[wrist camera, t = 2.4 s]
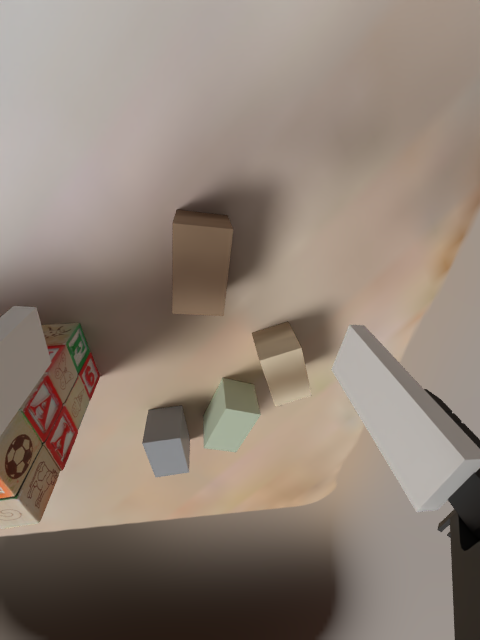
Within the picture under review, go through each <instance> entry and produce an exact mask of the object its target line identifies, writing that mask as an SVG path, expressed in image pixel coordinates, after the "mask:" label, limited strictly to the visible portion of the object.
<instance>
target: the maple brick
mask: <svg viewBox="0 0 480 640" xmlns="http://www.w3.org/2000/svg"><path fill="white" fill-rule="evenodd" d="M252 336H253V339H254V343H255V346H256V350H257V353H258V357H259V360H260V363H261V366H262V369H263V372H264V375H265V378H266V381H267V384H268V387H269V390H270V393H271V396H272V399H273V402H274V405H275V407H276V406H279V405H283V404H286V403H289V402H293V401H296V400H299V399H303V398H306V397H309V396H312V394H311V390H310V385H309V380H308V376H307V371H306V366H305V362H304V357H303V352H302V348H301V346H300V344H299V342H298V340H297V338H296V336H295V334H294V332H293V330H292V328H291V326H290V324H289V322H285V323H282V324H279V325H275V326H272V327H269V328H266V329H263V330H260V331H256V332H253V333H252Z"/></svg>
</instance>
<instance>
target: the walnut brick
mask: <svg viewBox="0 0 480 640" xmlns="http://www.w3.org/2000/svg"><path fill="white" fill-rule="evenodd" d="M232 237H233V227H232V225H231V223H230V220H229V218H228V216H227V215H220V214H211V213H202V212H193V211H184V210H177V211H176V214H175V217H174V220H173V269H172V314H191V315H214V316H223V315H224V306H225V298H226V289H227V280H228V272H229V263H230V254H231V246H232Z"/></svg>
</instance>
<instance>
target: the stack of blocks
mask: <svg viewBox="0 0 480 640" xmlns="http://www.w3.org/2000/svg"><path fill="white" fill-rule="evenodd" d="M41 326H42V330H43V333H44V337H45V341H46V345H47V348H48V352H49V356H50V359H51V364H50V366H49V367H48V368H47V370H46V371H45V373H44V374H43V376H42V377H41V379H40V380H39V381H38V383H37V384H36V386H35V387H34V389H33V390H32V391H31V393H30V394H29V396H28V397H27V399H26V400H25V401H24V403H23V404H22V406H21V407H20V409H19V410H18V412H17V413H16V414H15V416H14V417H13V419H12V420H11V422H10V423H9V424H8V426H7V427H6V429H5V430H4V432H3V433H2V435H1V436H0V529H6V528H13V527H20V526H27V525H34V524H37V523H39V522H40V520H41V518H42V516H43V513H44V511H45V508H46V506H47V503H48V501H49V499H50V496H51V494H52V491H53V489H54V486H55V484H56V481H57V478H58V476H59V473H60V471H62V470H63V469H64V467H65V464H66V462H67V460H68V457H69V454H70V452H71V449H72V446H73V444H74V442H75V439H76V437H77V434H78V429H79V427H80V424H81V422H82V419H83V417H84V414H85V411H86V409H87V406H88V404H89V401H90V399H91V398H92V395H93V392H94V390H95V387H96V385H97V383H98V380H99V378H100V375H99V373H98V370H97V367H96V365H95V362H94V359H93V357H92V354H91V352H90V350H89V348H88V345H87V342H86V339H85V337H84V334H83V331H82V328H81V325H80V323H66V324H49V325H41Z"/></svg>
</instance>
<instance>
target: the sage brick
mask: <svg viewBox="0 0 480 640" xmlns="http://www.w3.org/2000/svg"><path fill="white" fill-rule="evenodd" d="M260 415H261V414H260V410H259V405H258V401H257V397H256V392H255V388H254V384H249V383H244V382H240V381H235V380H230V379H226V378H222V380H221V382H220V384H219V386H218V388H217V390H216V392H215V394H214V396H213V398H212V400H211V402H210V404H209V406H208V408H207V410H206V411H205V413H204V415H203V430H204V448H207V449H215V450H222V451H230V452H237V450H238V449H239V447H240V446H241V444H242V443H243V441H244V439H245V438H246V436H247V435H248V433H249V432H250V430H251V429H252V427H253V426H254V424H255V423H256V421H257V420H258V418H259V417H260Z"/></svg>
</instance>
